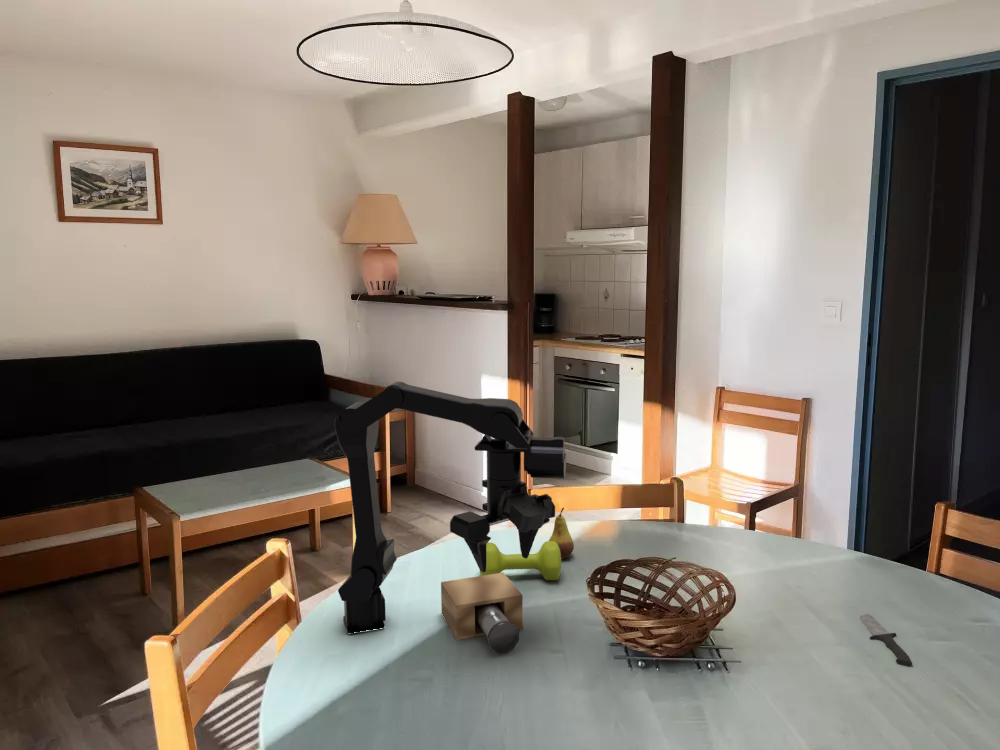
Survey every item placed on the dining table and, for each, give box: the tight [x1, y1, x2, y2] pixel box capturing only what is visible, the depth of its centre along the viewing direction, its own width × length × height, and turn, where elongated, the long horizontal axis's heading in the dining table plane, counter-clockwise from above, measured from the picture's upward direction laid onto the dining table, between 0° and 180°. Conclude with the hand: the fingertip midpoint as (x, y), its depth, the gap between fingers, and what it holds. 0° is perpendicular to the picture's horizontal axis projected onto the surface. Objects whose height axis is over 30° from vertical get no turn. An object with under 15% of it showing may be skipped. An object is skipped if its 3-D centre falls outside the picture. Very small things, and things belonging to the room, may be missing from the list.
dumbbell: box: [479, 540, 562, 581], centre depth 154 cm, size 16×8×7 cm, turn 92°
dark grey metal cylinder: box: [475, 603, 520, 655], centre depth 131 cm, size 5×15×5 cm, turn 19°
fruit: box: [548, 507, 575, 559], centre depth 164 cm, size 6×6×12 cm
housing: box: [440, 572, 524, 641], centre depth 136 cm, size 12×10×6 cm
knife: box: [859, 613, 913, 667], centre depth 131 cm, size 22×1×5 cm
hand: (504, 564), depth 130 cm, fingers open, 9 cm apart
